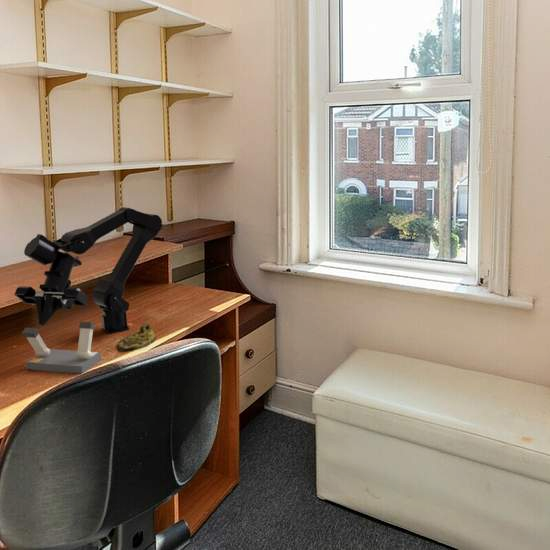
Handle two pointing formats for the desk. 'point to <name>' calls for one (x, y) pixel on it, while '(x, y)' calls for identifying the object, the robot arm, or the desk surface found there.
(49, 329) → the desk surface
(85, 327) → the right lever
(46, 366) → the switch base
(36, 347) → the left lever
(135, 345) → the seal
